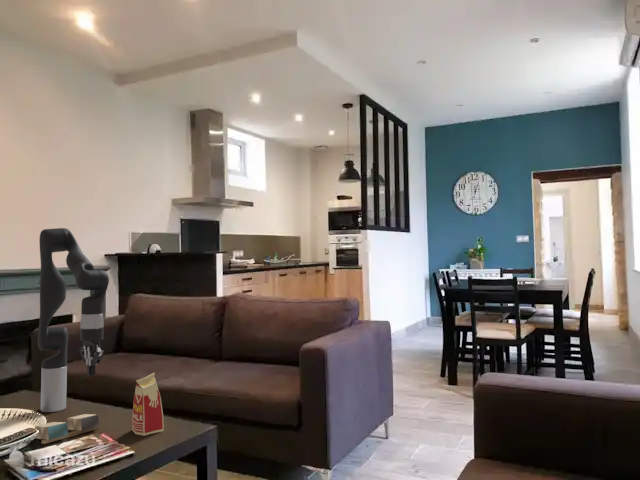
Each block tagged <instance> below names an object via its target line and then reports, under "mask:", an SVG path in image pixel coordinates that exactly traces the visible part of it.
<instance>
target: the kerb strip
mask: <svg viewBox="0 0 640 480" xmlns="http://www.w3.org/2000/svg"><path fill="white" fill-rule="evenodd" d="M99 427H100V425H99V426H98V427H94V428H90V429H87V430H83V431H79V430H72V431H70V432H69V431H68V435H65V436H62V437H58V438H54V439H51V440H46V439H40V440H41V442H40V443H41V444H42V445H45V444H49V443H52V442H57V441H59V440H64V439H66V438H71V437H74V436H77V435H81V434H85V433H88V432H92V431H95V430H99Z"/></svg>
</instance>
